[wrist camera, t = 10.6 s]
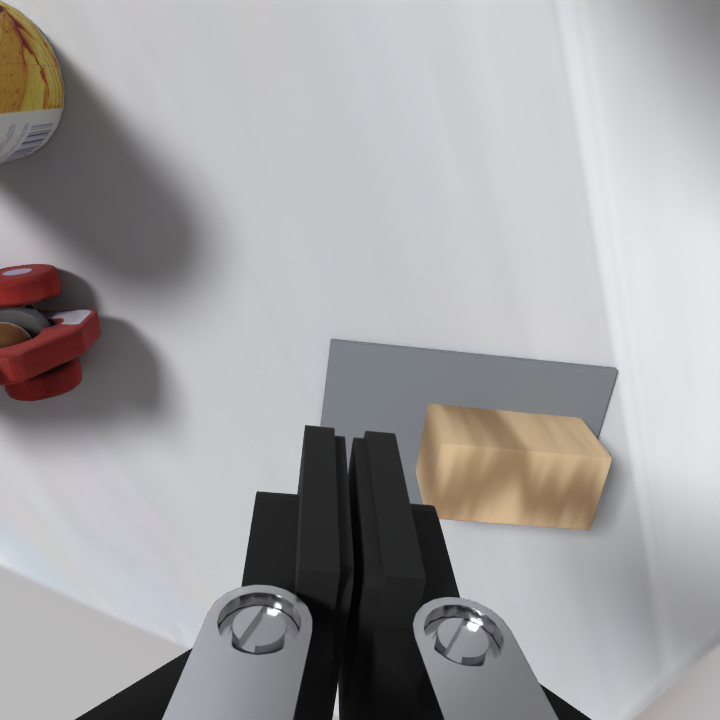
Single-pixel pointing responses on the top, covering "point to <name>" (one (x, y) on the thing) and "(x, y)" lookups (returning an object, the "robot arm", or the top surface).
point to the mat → (448, 391)
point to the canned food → (26, 86)
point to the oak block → (510, 467)
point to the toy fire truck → (40, 335)
